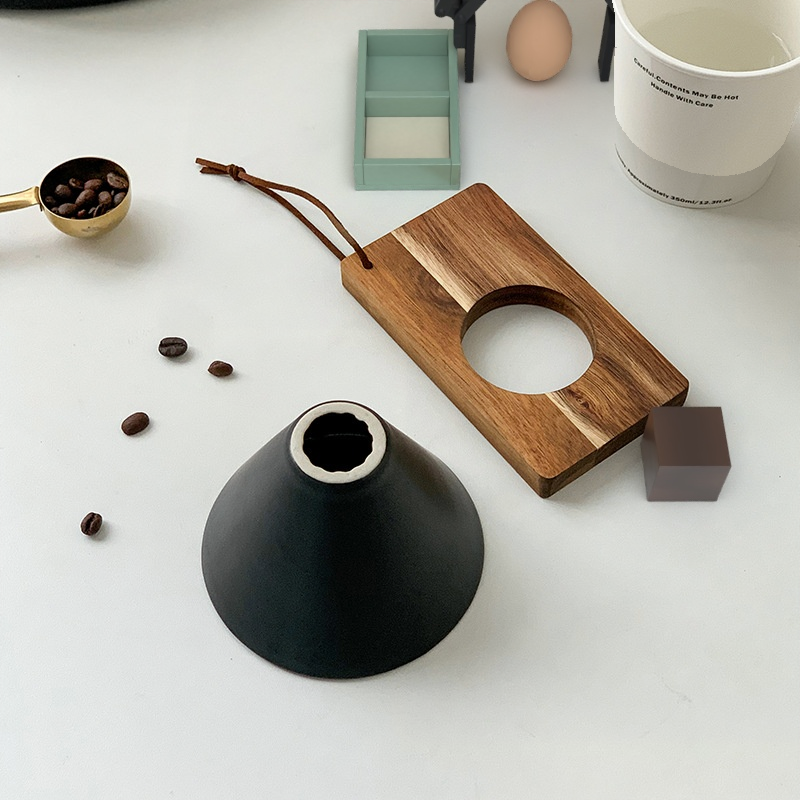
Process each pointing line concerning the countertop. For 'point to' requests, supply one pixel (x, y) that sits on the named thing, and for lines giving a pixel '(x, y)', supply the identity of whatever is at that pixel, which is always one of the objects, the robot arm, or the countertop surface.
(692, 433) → the walnut block
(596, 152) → the countertop surface
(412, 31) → the sorting tray
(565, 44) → the egg
